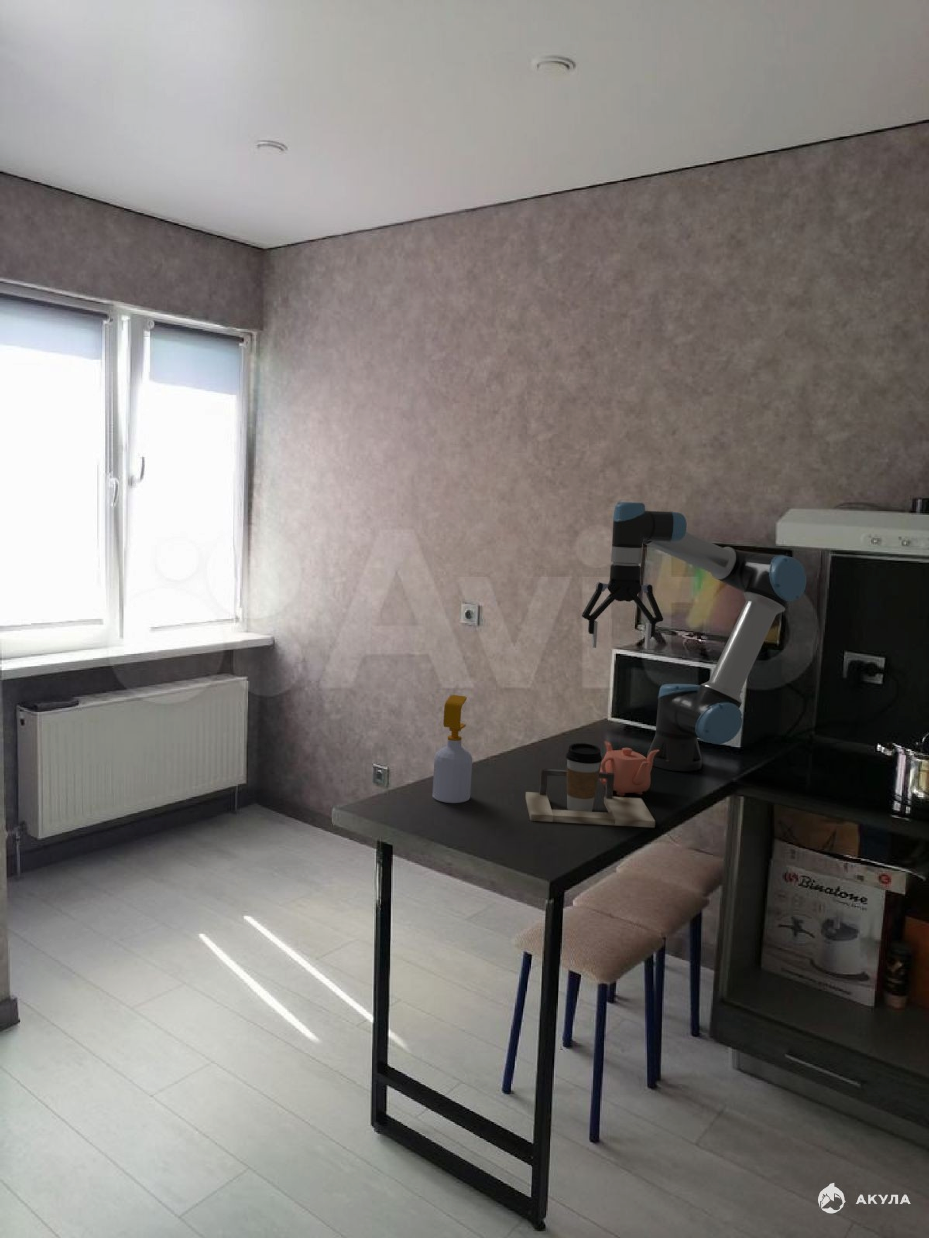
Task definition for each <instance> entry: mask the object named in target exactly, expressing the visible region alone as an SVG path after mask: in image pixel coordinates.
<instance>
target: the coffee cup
mask: <svg viewBox="0 0 929 1238" xmlns="http://www.w3.org/2000/svg"><path fill="white" fill-rule="evenodd" d="M565 755H566V756H565V758H566V759H567V764H566V770H567V777H566V808H567V809H566V810H569V811H587V812H593V810H594V809H593V808H594V802H595V796H596V792H597V786H598V781H599V778H598V776H599V772H600V769H601V768H600V766H601V762H602V760H603V759H602V758H603V757H602V756H601V755H602V754H601V749H600V748H599V747H598V746H597V745H594V744H590V743H585V742H583V743H582V742H578V743H572V744H570V745H569V747H568V750H567V752H566V754H565Z"/></svg>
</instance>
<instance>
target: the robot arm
mask: <svg viewBox="0 0 929 1238" xmlns="http://www.w3.org/2000/svg"><path fill="white" fill-rule="evenodd" d="M612 521H613V523H612V537H611V540H612V541H611V555H610V557H611V558H610V562H611V563H612V564H611V565H610V571H609V582H608V583H603V582H601V581H598V582H597V583H596V587H595V591H594V592H593V594H592V596H591V598H590V600H589V601H588V602H587V605H586V606H585V608H584V610H583V612H582V614H581V617H582V618H584V619H585V620H587V621H588V629H587V630H588V634H590V635H591V648H593V649H595V648H597V641H598V640H597V639H598V623H599V622H598V621H597V619H598V618H599V616H601V615H602V614H603V612H604V611H606V609H607V608H608V607H609V606H610V605H611V604H612V603H614V601H617V602H626V603H627V602H628V603H631V602H634V603H635V604H636V605H637V608H639V610H640V611H641V613H642V614H643V615H644V616H645V617H646V618H647V620H648V622H646V623H645V632H644V633H645V635H644V636H645V637H644V649H645V650H647V651H648V650H651V638H652V637H655V635H656V625H657V624H658V623H660V622H663V621H664V617H663V615H662V612H661V610H660V608H659V605H658V603H657V600H656V598H655V595H654V592H653V589H654V588H653V585H652V584H650V583H646V584H641V571H642V567H641V566H640V564H642V558H643V557H642V554H643V544H644V545H647V546H649V547H651V548H653V549H655V550H658V551H659V552H663V553H665V554H667V555H669V556H672V557H673V558H676V559H679V560H681V561H682V562H686V563H688V564H690V565H692V566H694V567H697V568H699V569H702V570H704V571H706V572H708V573H710V575H711V577H713V578H714V579H716V580H718V581H720V582H722V583H724V584H726V585H728V586H730V587H732V588H734V589H736V590H738V591H741V592H743V597H744V599H745V603H744V604H743V605H744V606H743V607H742V610H741V612H740V614H739V616H738V618H737V620H736V623H735V624H734V626H733V629H732V630H731V633H730V635H729V637H728V640H727V642H726V644H725V646H724V648H723V650H722V652H721V655H720V656H719V658H718V661H717V663H716V665H715V668H714V670H713V671H712V674H711V676H710V678H709V680H708V681H706V682H704V683H701V684H693V683H665V684H662V685H661V686H660V688H659V691H658V696H657V699H658V701H657V712H656V713H657V714H656V722H655V723H656V724H655V735H654V738H653V740H652V742H651V745H650V747H649V749H648V750H647V754H646V755H647V756H646V758H647V757H648V755H649V753H650V752H651V751H653V750H659V751H658V752H657V753H656V754H655V756H654V759H653V764H652V767H656V768H660V769H663V770H668V771H677V772H693V770H695V771H698V769H699V770H700V769H701V768H702V765H703V764H702V763H703V760H702V759H703V758H702V755H701V750H700V745H699V742H698V741H699V740H700V741H703V742H705V743H711V744H714V745H723V744H726V743H727V742H730V741H731V740H733V739H734V738H736V736H737V735H738V734H739V732H740V731H741V728H742V725H743V718H742V717H743V714H742V711H741V710H740V708H741V706H742V703H743V701H742V699H741V696H740V694H741V692H742V690H743V688H744V685H745V683H746V681H747V678H748V677H749V675H750V673H751V671H752V668H753V666H754V664H755V661H756V659H757V657H758V655H759V653H760V651H761V649H762V646H763V644H764V643H765V642H764V641H765V640H766V638H767V635H768V633H769V632H770V629H771V628H772V625H773V622H774V621H775V618H776V616H777V615H779V614H781V613H783V612H785V611H786V609H787V607H788V604H789V603H790V602H793V601H796V600H797V599H799V598H800V597H801V596H802V595H803V594H804V593H805V590H806V585H807V574H806V572H805V571H806V570H805V568H804V566H803V565H802V563H801V562H800V561H799V560H798V559H796V558H794V557H791V556H788V555H785V554H770V553H760V552H750V551H743V550H739V549H735V548H733V547H731V546H724V547H722V546H719V545H717V544H715V543H713V542H710V541H708V540H706V539H704V538H701V537H699V536H697V535H695V534H692V533H690V532H688V531H687V524H688V523H687V520H686V517H685V515H684V514H683V513H681V512H676V511H671V510H670V511H659V510H657V511H656V510H646V504H644V503H643V502H628V501H627V502H626V501H619V502H617V503H616V504H615V506H614V510H613V518H612ZM606 589H607V591H609V595H607V596H606V598H605V599H604V600H603V601H602V602H601V603H600V604H599V606H598V607H597V608H596V609H594V607H595V605H596V604H597V602H598V600H599V599H600V597H601V595H602V593H603V592H605V591H606ZM641 591H642V592H643V593H644V594H645V595H646V598H647V599H648V600H647V601H648V603H649V604H650V607H651V609H652V611H653V614H652V613H651V612H650V610H649V609H648V608H647V607H646V605H645V604H644V603H643V601H642V599H641V598H640V597H639V596H638V594H640V592H641ZM593 610H594V611H593ZM592 611H593V612H592ZM653 615H654V616H653ZM698 739H699V740H698Z"/></svg>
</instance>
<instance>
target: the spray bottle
mask: <svg viewBox="0 0 929 1238" xmlns="http://www.w3.org/2000/svg"><path fill="white" fill-rule="evenodd" d="M467 700H468V699H467V696H466V695H465V696H464V695H456V694H451V695H450V696H449V697H448V698H447V700H446V701H445V703H444V708H443V727H444V728H448V731H449V732H450V733H451V735H447V744H446V746H444V747H442V748H440V749H439V750H437V751H436V753H435V754H434V757H433V758H434V760H433V776H432V777H433V778H432V779H433V781H432V795H431V796H432V798H433V799H434V800H436V801H438V802H441V803H445V804H462V803H465V802H467V801H469V800H470V799H471V789H472V787H471V786H472V774H473V773H472V772H473V770H472V769H473V756H472V754H471V753H470V752H469V751H468V750H467V749H466V748H464V747H463V746H462V738H463V737H462V736H461V735H459V732H461V731H462V730H463V729H464V728H466V727H467V725H466V723H462V722H461V719H462V717H461V716H462V708H463V705H464V704H465V703H466V701H467Z"/></svg>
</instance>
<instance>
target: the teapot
mask: <svg viewBox="0 0 929 1238" xmlns="http://www.w3.org/2000/svg"><path fill="white" fill-rule="evenodd" d="M604 744H605V747H606V753H605V755H604V757H603V759H602V761H601V762H600V768H599V769H600V770H599V772H606V773H607V772H609V773H614V785H613V791H614V792H616V796H618V797H624V796H625V797H626V794H631V793H634V794H635V795H643V792H647V791H648V790H649V788H650V786H651V771H652V769H653V765H652V764H653V759H654V756H655V754H656V753H657V752H658V751H659V750H653V751H651V752H650V753H649V755H648V757H647V756H646V757H645V756H644V755H643V754H641V753H639V752H636V751H633V749H632V748H630V747H623V748H621V749H618V750H613V749H614V748H613V746H612V744H611V742H609V741H606V740H605V741H604ZM606 780H607V779H601V778H599V782H600V783H601V784H603V785H604V788H605V789H606Z"/></svg>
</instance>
